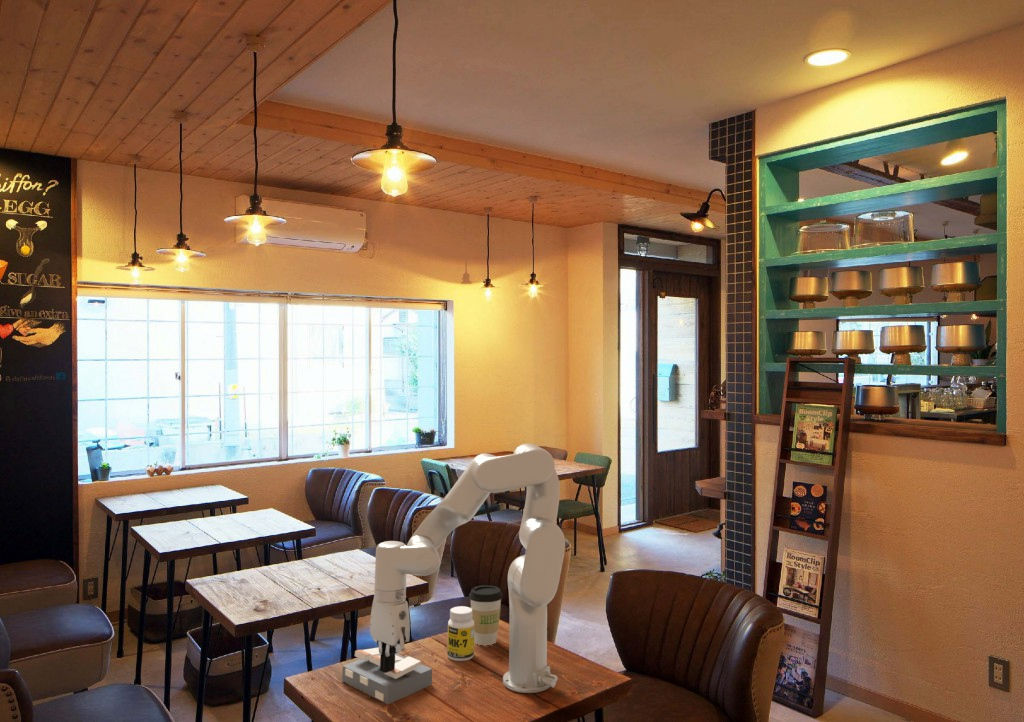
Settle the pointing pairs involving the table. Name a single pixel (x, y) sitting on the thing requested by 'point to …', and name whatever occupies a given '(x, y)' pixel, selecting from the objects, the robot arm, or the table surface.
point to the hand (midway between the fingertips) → (387, 670)
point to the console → (385, 680)
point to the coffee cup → (485, 613)
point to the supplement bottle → (460, 634)
